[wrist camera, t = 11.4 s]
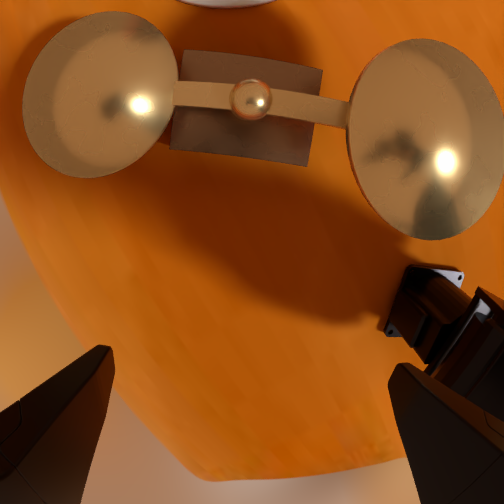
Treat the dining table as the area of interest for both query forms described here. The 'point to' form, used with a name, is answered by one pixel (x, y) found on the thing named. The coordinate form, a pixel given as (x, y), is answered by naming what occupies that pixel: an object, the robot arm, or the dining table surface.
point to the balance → (273, 116)
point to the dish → (226, 3)
